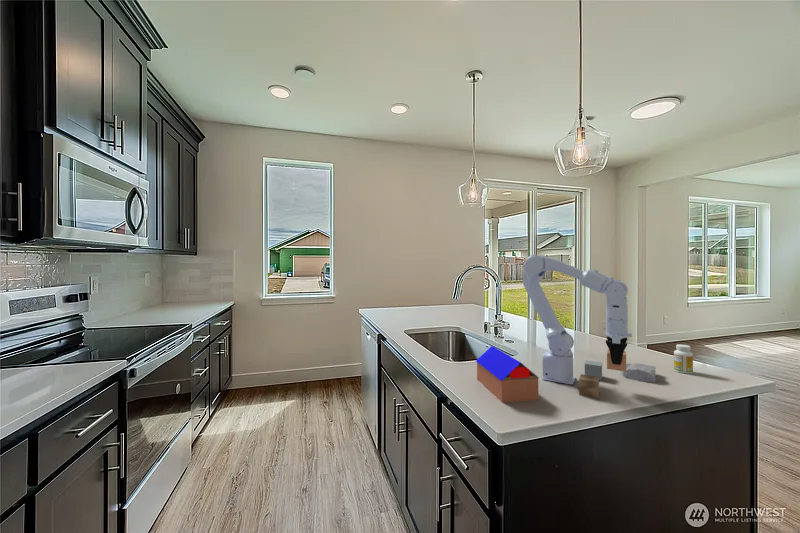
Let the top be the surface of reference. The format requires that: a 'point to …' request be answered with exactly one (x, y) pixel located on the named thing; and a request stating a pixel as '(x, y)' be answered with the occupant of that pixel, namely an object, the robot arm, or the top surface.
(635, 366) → the stone block
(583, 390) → the walnut block
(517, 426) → the top surface
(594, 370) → the slate block
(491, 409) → the top surface
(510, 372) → the house
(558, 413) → the top surface
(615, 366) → the terracotta block
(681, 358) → the supplement bottle
